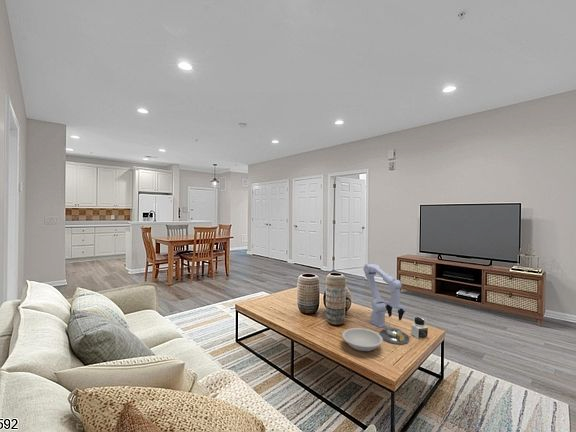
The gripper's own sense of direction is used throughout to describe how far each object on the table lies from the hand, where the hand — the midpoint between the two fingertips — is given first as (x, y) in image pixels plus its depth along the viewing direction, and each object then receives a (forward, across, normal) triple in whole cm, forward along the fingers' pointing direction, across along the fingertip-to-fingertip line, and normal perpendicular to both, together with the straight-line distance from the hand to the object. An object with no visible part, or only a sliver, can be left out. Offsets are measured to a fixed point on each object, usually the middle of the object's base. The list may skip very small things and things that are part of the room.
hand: (395, 318), depth 186 cm
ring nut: (+9, +3, -6) cm, 11 cm away
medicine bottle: (+11, +11, +10) cm, 19 cm away
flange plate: (+10, +3, -6) cm, 12 cm away
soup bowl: (+11, -1, -33) cm, 35 cm away
